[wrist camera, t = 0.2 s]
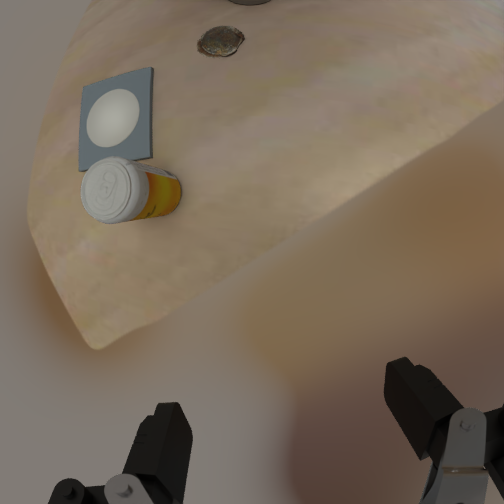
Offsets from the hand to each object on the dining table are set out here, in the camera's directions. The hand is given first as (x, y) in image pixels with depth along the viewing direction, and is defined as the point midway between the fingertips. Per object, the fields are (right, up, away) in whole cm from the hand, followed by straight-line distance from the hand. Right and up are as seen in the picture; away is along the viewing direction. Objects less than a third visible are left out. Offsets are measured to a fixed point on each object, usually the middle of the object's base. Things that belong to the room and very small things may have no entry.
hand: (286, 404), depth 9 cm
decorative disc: (-6, +36, +23) cm, 43 cm away
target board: (-21, +25, +25) cm, 41 cm away
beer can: (-13, +13, +27) cm, 33 cm away
